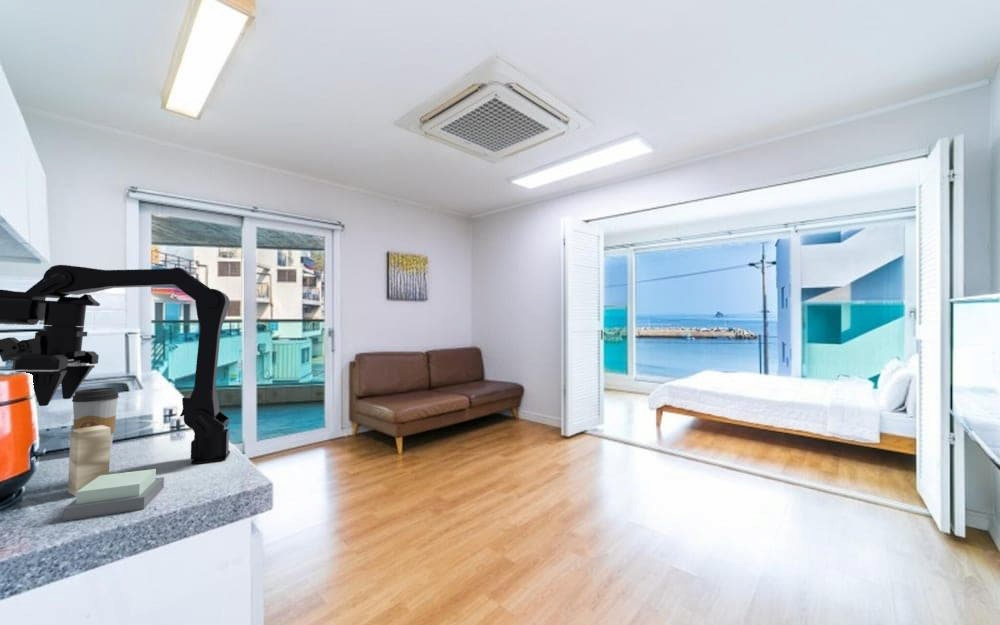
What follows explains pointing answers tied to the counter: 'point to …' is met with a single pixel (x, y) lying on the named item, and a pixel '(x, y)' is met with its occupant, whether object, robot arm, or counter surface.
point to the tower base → (113, 504)
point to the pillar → (88, 456)
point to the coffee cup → (95, 408)
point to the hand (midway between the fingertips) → (55, 402)
